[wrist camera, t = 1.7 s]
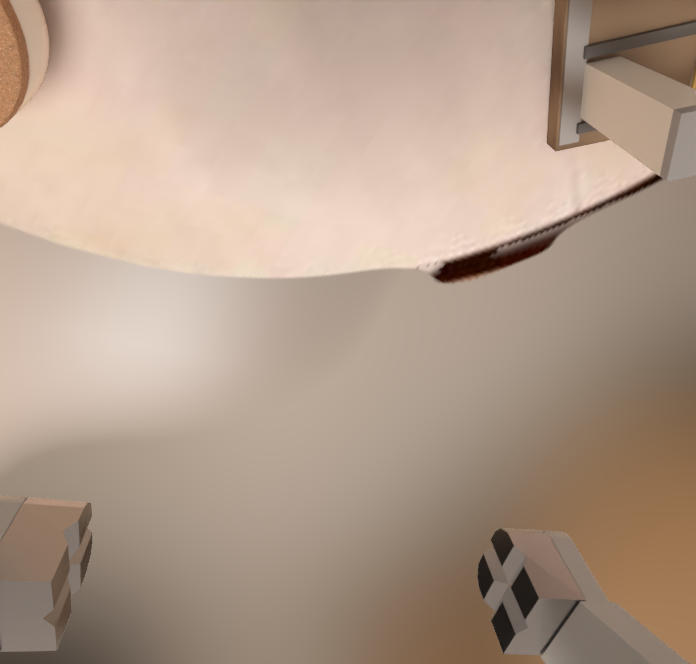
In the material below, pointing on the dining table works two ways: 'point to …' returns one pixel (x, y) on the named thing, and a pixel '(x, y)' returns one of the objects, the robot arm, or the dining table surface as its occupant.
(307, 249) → the dining table surface
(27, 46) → the lidded bowl
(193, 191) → the dining table surface
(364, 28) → the dining table surface
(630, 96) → the tab
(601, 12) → the slotted wooden base
